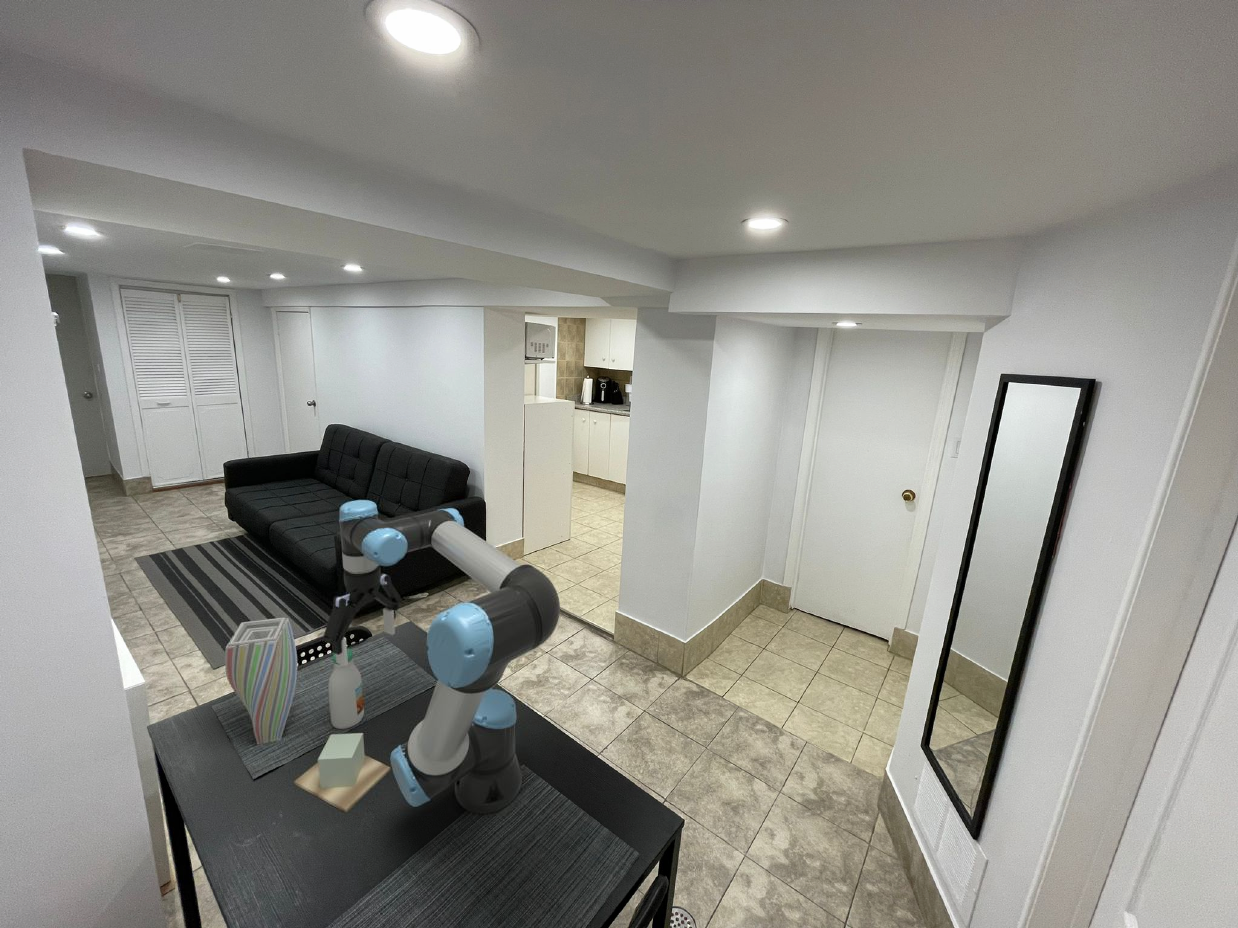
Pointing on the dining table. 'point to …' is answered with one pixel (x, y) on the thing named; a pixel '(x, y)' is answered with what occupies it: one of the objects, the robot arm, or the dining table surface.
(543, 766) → the dining table surface
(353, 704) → the milk bottle
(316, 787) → the post base
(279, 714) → the vase
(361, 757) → the pale green block
